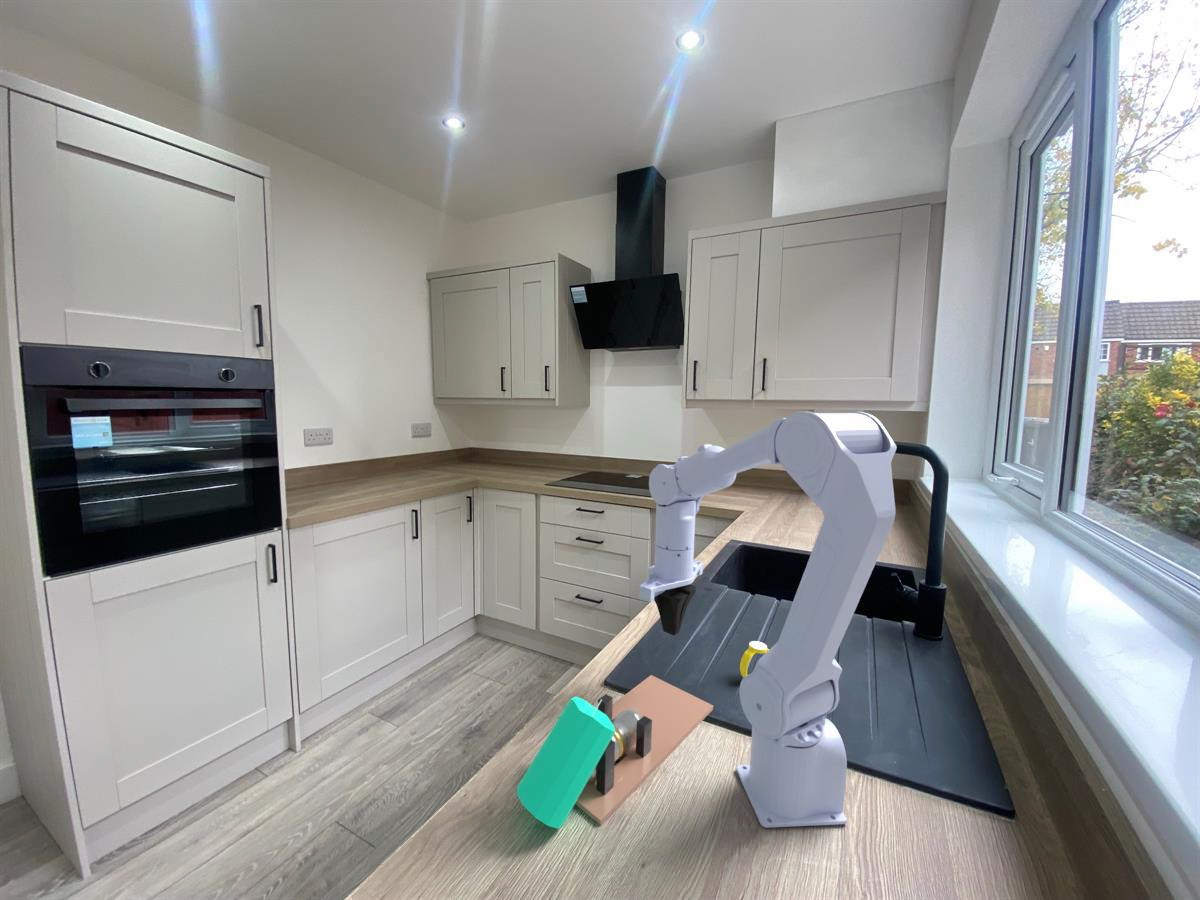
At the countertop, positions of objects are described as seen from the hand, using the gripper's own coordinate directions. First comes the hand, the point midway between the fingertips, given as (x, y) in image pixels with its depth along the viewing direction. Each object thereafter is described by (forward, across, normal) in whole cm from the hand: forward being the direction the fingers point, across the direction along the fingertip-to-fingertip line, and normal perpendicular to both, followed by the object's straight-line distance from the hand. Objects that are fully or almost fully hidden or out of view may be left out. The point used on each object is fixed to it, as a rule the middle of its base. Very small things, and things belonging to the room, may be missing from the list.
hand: (670, 631), depth 70 cm
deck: (+10, +11, +1) cm, 15 cm away
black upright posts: (+9, +17, +1) cm, 19 cm away
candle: (+8, +28, +2) cm, 29 cm away
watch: (+10, -13, +8) cm, 18 cm away
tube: (+9, +16, +2) cm, 19 cm away
